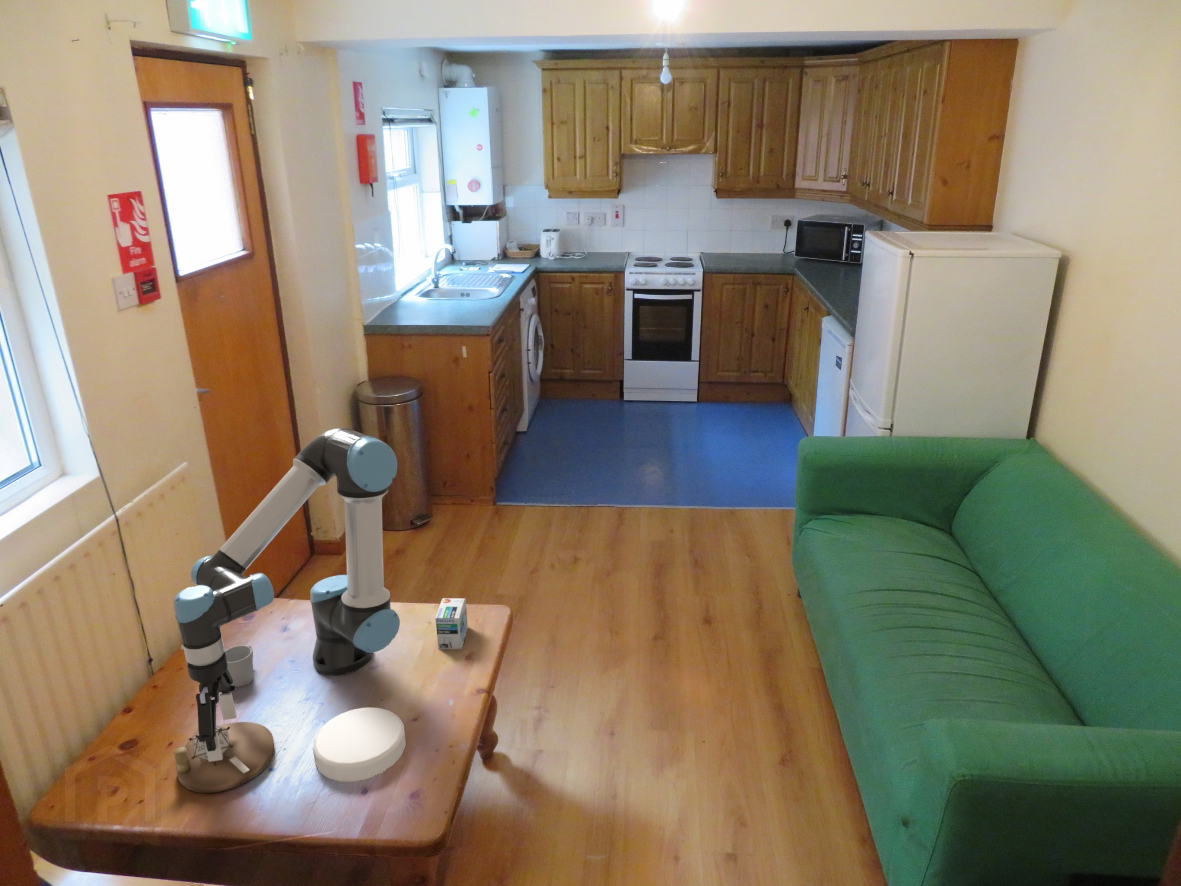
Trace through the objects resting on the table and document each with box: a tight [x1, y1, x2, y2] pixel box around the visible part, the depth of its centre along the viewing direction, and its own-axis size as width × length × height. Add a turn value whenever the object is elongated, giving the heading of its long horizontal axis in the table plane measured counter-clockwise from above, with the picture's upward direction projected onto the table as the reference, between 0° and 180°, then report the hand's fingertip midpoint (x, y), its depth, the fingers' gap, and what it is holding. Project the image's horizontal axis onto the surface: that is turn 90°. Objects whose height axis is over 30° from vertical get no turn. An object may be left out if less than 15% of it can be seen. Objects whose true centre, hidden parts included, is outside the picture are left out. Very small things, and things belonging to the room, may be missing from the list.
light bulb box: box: [434, 597, 469, 650], centre depth 223 cm, size 11×7×11 cm, turn 179°
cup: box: [224, 644, 254, 688], centre depth 209 cm, size 8×10×8 cm
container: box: [312, 707, 406, 783], centre depth 184 cm, size 20×20×5 cm
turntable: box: [173, 721, 276, 794], centre depth 181 cm, size 20×20×7 cm
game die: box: [188, 725, 234, 766], centre depth 178 cm, size 9×8×10 cm
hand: (223, 738), depth 180 cm, fingers open, 13 cm apart
